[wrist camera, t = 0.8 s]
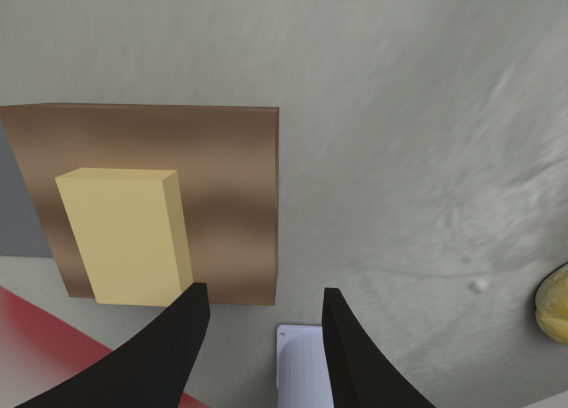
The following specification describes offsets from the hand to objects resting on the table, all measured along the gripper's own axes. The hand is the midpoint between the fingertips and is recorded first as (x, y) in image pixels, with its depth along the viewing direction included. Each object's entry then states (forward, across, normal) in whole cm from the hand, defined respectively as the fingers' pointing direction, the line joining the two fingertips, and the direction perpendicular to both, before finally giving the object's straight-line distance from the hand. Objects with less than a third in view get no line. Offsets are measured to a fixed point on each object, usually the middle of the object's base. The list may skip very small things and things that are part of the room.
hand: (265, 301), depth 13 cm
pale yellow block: (+6, +9, 0) cm, 11 cm away
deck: (+10, +8, -1) cm, 13 cm away
